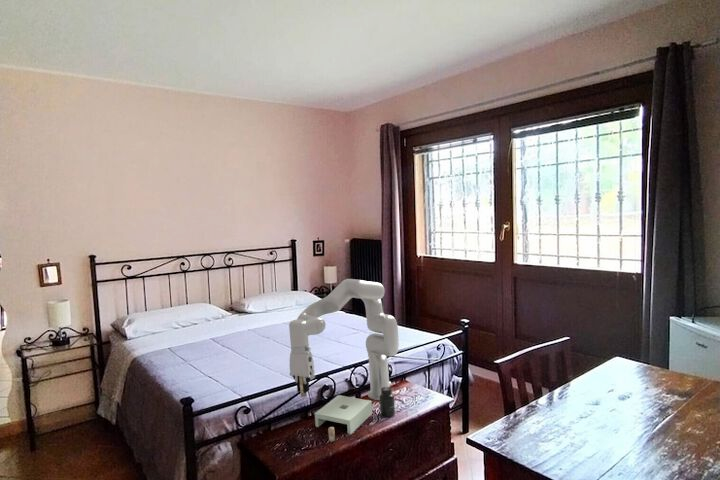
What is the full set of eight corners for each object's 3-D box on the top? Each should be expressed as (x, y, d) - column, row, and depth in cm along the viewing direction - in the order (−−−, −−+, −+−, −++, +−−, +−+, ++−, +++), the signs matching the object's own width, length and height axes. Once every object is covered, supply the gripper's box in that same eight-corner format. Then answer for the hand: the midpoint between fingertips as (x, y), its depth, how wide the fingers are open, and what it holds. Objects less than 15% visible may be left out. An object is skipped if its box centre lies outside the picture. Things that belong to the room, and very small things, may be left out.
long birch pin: (303, 394, 186) (301, 369, 185) (307, 395, 185) (305, 370, 184) (299, 396, 184) (297, 371, 183) (304, 397, 183) (302, 372, 182)
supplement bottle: (394, 418, 195) (392, 392, 194) (379, 417, 196) (377, 391, 195) (396, 410, 201) (394, 385, 201) (381, 410, 203) (380, 385, 202)
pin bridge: (339, 407, 209) (338, 395, 209) (372, 413, 200) (371, 400, 200) (315, 426, 192) (314, 413, 191) (350, 434, 183) (349, 420, 182)
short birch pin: (331, 438, 181) (330, 426, 181) (336, 439, 180) (335, 427, 179) (327, 441, 179) (326, 429, 178) (332, 442, 177) (332, 430, 177)
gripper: (320, 348, 182) (324, 390, 184) (290, 344, 190) (293, 385, 191) (310, 353, 176) (313, 397, 177) (279, 350, 184) (282, 392, 185)
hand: (303, 391), depth 184 cm, fingers closed on long birch pin, 2 cm apart
